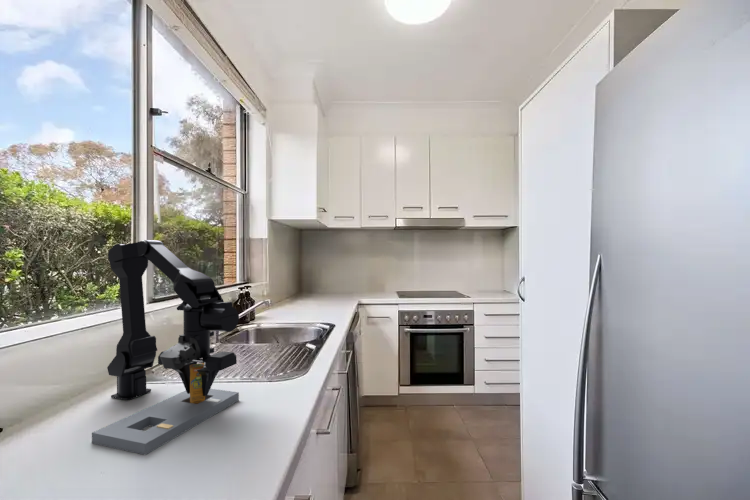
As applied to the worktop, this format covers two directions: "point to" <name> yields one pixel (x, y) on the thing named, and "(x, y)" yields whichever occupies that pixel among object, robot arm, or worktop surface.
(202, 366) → the supplement box
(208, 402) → the port panel
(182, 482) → the worktop surface
